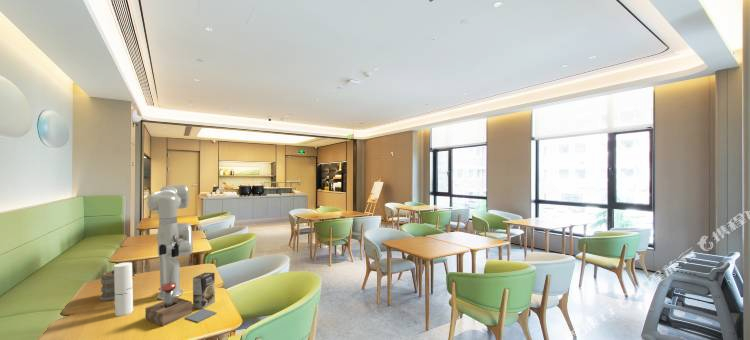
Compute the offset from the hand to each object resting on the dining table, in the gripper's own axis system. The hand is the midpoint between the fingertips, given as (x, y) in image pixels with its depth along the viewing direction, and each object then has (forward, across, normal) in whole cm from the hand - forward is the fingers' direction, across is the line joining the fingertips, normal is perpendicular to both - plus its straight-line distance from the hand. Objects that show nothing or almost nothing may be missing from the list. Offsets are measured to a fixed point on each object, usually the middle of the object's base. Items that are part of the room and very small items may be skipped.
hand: (168, 255), depth 153 cm
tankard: (+30, -52, +3) cm, 61 cm away
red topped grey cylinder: (+31, 0, 0) cm, 31 cm away
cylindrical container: (+31, -26, -7) cm, 41 cm away
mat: (+31, +14, +7) cm, 34 cm away
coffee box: (+31, +4, +16) cm, 35 cm away
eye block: (+31, 0, 0) cm, 31 cm away
